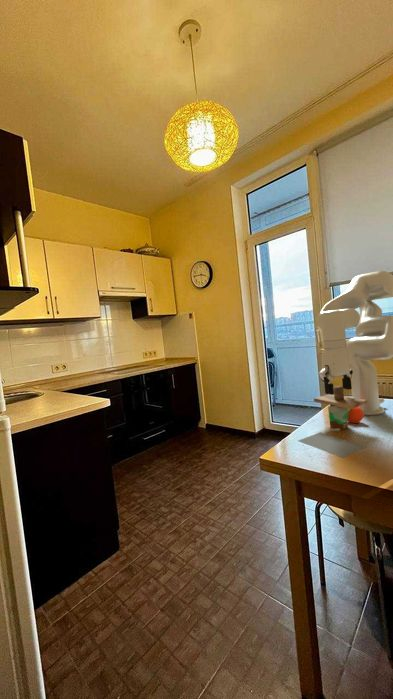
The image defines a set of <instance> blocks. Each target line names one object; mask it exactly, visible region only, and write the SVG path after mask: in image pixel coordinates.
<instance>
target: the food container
mask: <svg viewBox="0 0 393 699" xmlns="http://www.w3.org/2000/svg"><path fill="white" fill-rule="evenodd" d="M327 408H328V409H327V410H328V412H327V413H328V418H329V419H328V420H329V425H330V426H329V428H330V431H331V432H340V431H344V430H346V429H348V425H349V424H348V421H347V410H348V408H343V407H338V406H334V405H329V406H328V407H327Z"/></svg>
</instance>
